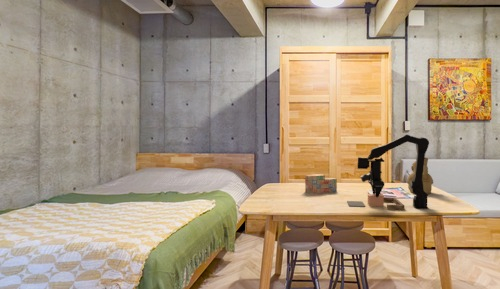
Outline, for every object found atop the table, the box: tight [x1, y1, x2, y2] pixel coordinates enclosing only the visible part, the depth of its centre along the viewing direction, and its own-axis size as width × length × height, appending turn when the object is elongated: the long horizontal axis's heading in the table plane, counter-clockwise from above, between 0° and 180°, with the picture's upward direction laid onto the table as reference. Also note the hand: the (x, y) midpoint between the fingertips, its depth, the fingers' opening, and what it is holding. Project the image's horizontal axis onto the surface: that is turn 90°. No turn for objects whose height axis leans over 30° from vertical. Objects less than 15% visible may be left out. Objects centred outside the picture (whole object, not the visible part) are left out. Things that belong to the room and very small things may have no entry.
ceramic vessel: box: [406, 157, 434, 195], centre depth 237 cm, size 17×20×25 cm
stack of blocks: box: [304, 173, 338, 194], centre depth 244 cm, size 21×6×12 cm, turn 102°
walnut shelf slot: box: [384, 196, 405, 211], centre depth 201 cm, size 9×21×2 cm, turn 170°
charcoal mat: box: [346, 200, 366, 208], centre depth 204 cm, size 9×12×1 cm
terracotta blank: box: [367, 193, 385, 207], centre depth 202 cm, size 8×5×6 cm, turn 80°
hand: (375, 195), depth 202 cm, fingers open, 9 cm apart
